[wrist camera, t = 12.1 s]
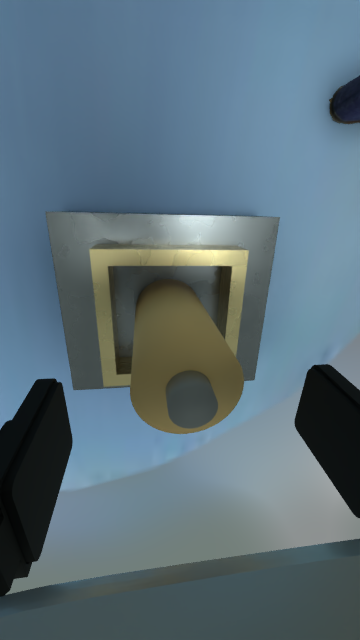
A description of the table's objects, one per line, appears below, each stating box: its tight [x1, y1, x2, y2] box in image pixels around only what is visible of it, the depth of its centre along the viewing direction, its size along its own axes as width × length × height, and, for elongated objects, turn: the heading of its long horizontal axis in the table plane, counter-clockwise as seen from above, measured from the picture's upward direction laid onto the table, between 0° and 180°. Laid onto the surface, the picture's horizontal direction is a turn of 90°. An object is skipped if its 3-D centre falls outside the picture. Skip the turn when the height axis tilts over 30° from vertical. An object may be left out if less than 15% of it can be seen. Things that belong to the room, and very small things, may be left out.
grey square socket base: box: [46, 211, 280, 390], centre depth 21 cm, size 14×16×6 cm
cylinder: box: [130, 279, 244, 434], centre depth 16 cm, size 5×5×11 cm
